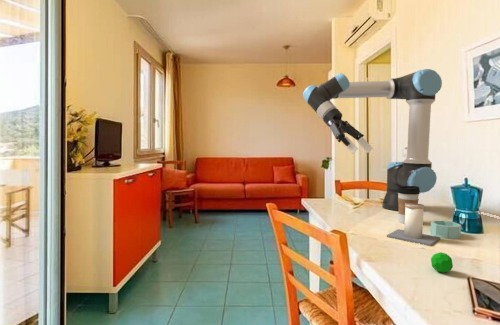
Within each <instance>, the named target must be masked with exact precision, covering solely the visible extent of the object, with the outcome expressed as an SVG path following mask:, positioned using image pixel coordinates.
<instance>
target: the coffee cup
mask: <svg viewBox="0 0 500 325" xmlns="http://www.w3.org/2000/svg"><path fill="white" fill-rule="evenodd" d="M397 192H398V209H399V211H398V222H399V223H400V224H404V225H405V204H406V203H417V204H419V195H420V194H421V193H420V190H419V187H418V186H400V187H398V190H397Z"/></svg>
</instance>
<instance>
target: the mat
mask: <svg viewBox="0 0 500 325" xmlns="http://www.w3.org/2000/svg"><path fill="white" fill-rule="evenodd" d="M386 238H391V239H394V238H395V240H401V241H404V242H409V241H410V242H409V243H413V242H415V244H418V243H420V245H423V244H424V245H423V246H428V247H432V246H433V245H434V244H435V243H437V242H439V240H441V238H440V237H437V236H434V235H432V234H424V233H422V238H409V237H406V236H404V229H400V228H399V229H396V230H394V231H392V232H390V233H388V234H386Z"/></svg>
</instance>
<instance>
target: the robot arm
mask: <svg viewBox="0 0 500 325" xmlns="http://www.w3.org/2000/svg"><path fill="white" fill-rule="evenodd" d="M442 85H443V82H442V77H441V76H440V74H439V73H438V72H437V71H436V70H434V69H431V68H425V69H424V68H423V69H419V70H417V71H414V72H412V73H409V74H406V75H405V74H404V76H403V75H402V76H399V77H394V78H388V79H387V80H377V81H376V80H375V81H371V80H370V81H350V80H349V78H348V77H347V76H346V75H345V73H342V72H341V73H338V74H336V75H334V77H333V76H332V77H331V78H330V79H328V80H326V81H325V82H322V83H321V84H319V85H318V86H317V85H315V84H312V85H308V86H307V87H306V88H305V89H304V91H303V93H302V98H303V100H304V101H305V102H306V104H308V105H309V107H311V109H312V110H313V111H314V112H315V113H316V114H317V115H318V118H320V119H321V120H322V122H324V123H325V125H326V126H327V127H329V128H330V131H331V132H332V135H333V137H334V138H335V139H336V140H337V142H338V143H341V142H342V144H343V145H344V146H345V147H346V148H347V150H349V152H350V153H351V154H354V153H356V151H357V150H359V148H358V147H357V146H356V145H355V144H354V143H353V142H352V140H351V139H350V137H348V136H346V134H348V135H349V136H351V137H352V138H353V139H355V140H356V141H357V143H358V144H359V145H360V147H362V148H363V150H364V151H365V152H366V153H370V152H371V150H373V147H372V145H371V144H370V143H369V142H368V141H367V140H366V139H365V138H364V136H365V135H364V134H363V133H362V132H360V131H359V130H358V129H357V128H355V127H354V126H353V125H352V124H350V122H348V121H347V120H343V119H342V117H343V113H342V112H341V111H340V110H339V109H338V108H337V107H336V105H335V104H334V103H333V102H332V101H331V100H332V99H358V98H359V99H361V98H386V99H387V100H405V102H406V104H407V105H408V106H409V108H408V110H409V111H408V127H407V128H408V129H407V131H408V132H407V148H406V158H405V159H404V160H403V161H392V162H389V163H388V164H387V167H386V168H387V169H386V192H385V195H384V198H383V200H382V203H381V205H382V209H386V210H390V211H398V212H399V209H398V192H397V190H398V187H400V186H418V187H419V190H420V194H424V193H428V192H429V191H431V190H432V189H433V188H434V187H435V186H436V183H437V174H436V173H437V172H435V171H434V169H432V168H433V167H432V166H433V164H432V161H431V160H430V159H429V150H430V149H429V148H430V130H431V128H430V127H431V112H432V104H433V103H434V102H436V95H437V94H438V92H440V91H441V89H442Z"/></svg>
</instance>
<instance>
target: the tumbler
mask: <svg viewBox="0 0 500 325" xmlns="http://www.w3.org/2000/svg"><path fill="white" fill-rule="evenodd" d="M424 209H425V205H424V204H422V203H418V204H417V203H406V204H405V224H404V227H403V228H404V229H403V230H404V236H406V237H409V238H422V234H423V228H424V226H423V224H424Z"/></svg>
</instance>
